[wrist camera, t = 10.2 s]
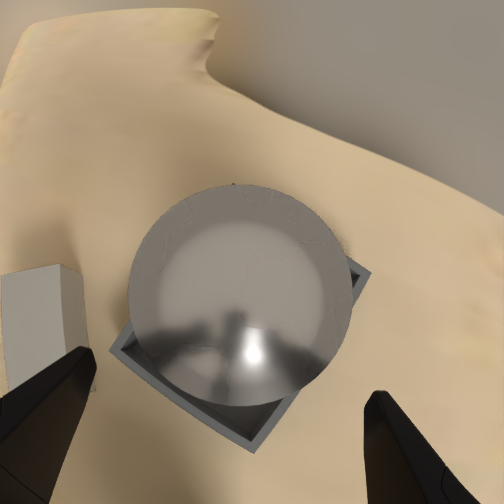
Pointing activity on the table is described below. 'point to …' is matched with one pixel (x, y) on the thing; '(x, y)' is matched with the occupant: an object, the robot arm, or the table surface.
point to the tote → (215, 415)
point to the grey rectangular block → (41, 319)
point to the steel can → (240, 295)
